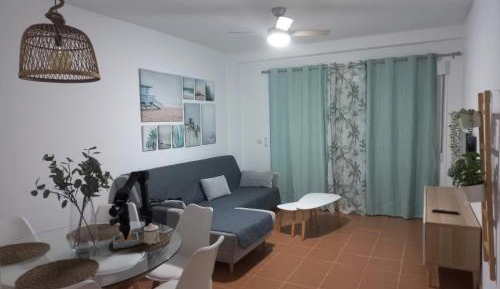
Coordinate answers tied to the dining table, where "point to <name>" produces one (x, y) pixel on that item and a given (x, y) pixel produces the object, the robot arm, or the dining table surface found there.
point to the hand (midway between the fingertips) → (125, 236)
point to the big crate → (126, 241)
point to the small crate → (123, 237)
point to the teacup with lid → (151, 234)
